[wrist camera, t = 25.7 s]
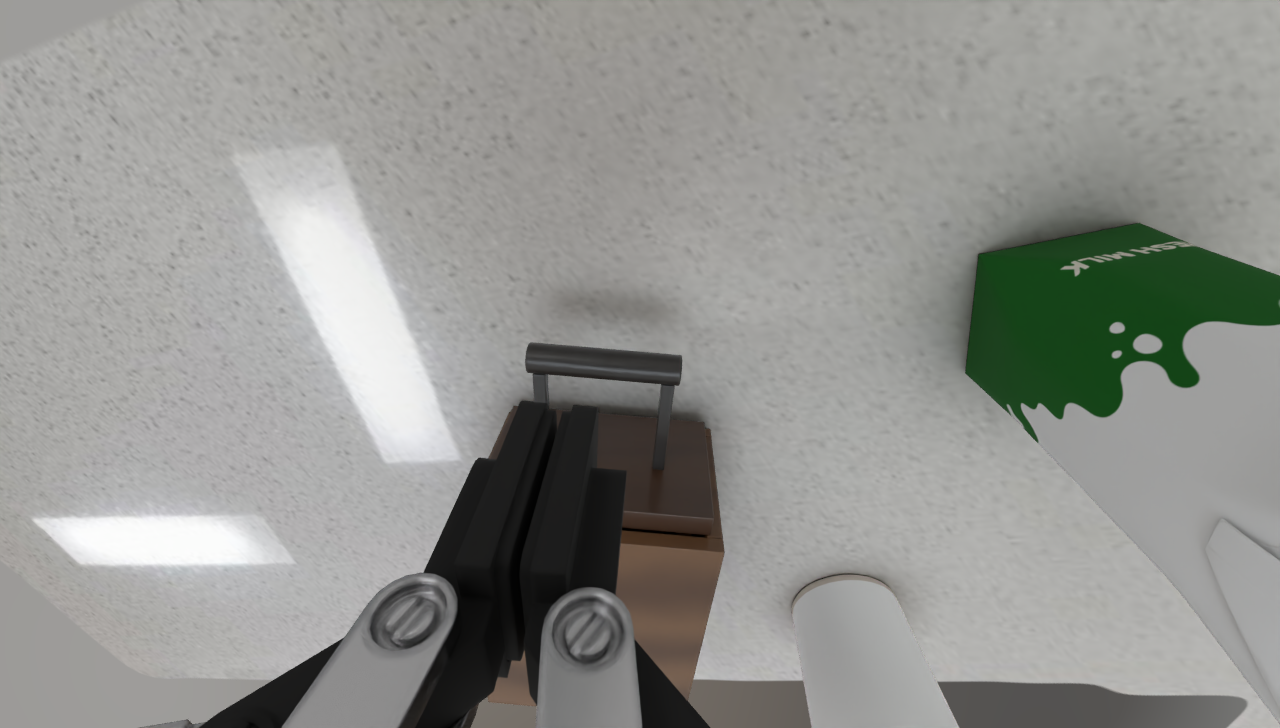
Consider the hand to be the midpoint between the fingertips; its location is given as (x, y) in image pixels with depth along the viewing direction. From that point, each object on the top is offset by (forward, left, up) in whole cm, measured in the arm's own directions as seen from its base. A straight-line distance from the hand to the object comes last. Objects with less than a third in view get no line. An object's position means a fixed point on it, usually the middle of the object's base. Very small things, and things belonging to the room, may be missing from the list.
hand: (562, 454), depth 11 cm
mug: (+20, +29, -16) cm, 38 cm away
